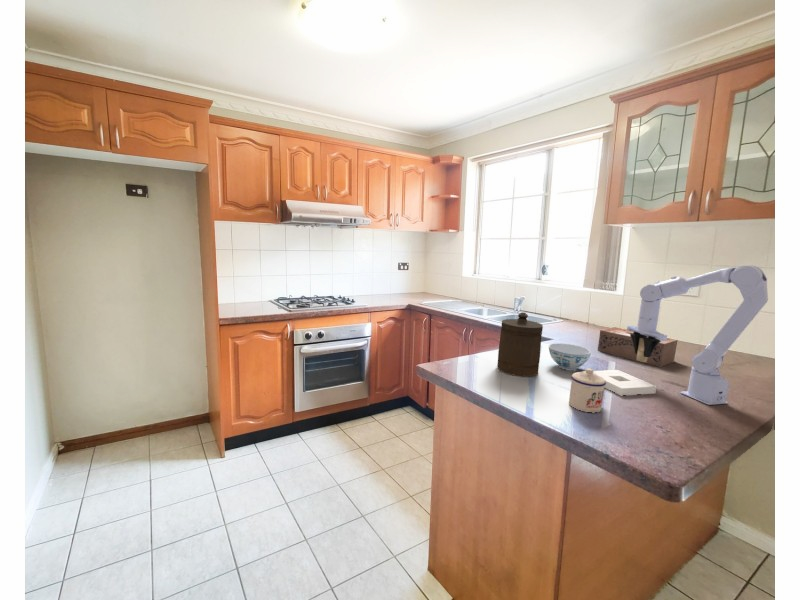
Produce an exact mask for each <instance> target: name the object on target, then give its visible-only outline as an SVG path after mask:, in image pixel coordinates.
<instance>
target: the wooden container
mask: <svg viewBox="0 0 800 600" xmlns="http://www.w3.org/2000/svg"><path fill="white" fill-rule="evenodd" d="M517 316H518V317H517V318H508V319H502V320H501V327H500V337H499V343H498V350H497V351H498V353H497V369H498V370H499V371H501V372H502V373H505V374H508V375H511V376H516V377H526V376H527V377H535V376H537V375H538V374H539V368H540V358H541V347H542V336H543V335H542V334H543V328H544V326H543V324H542V323H539V322H537V321H533V320H528V318H529V315H528V314H527V313H526V312H520V313H518V315H517Z"/></svg>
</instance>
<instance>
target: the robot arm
mask: <svg viewBox="0 0 800 600" xmlns="http://www.w3.org/2000/svg"><path fill="white" fill-rule="evenodd" d="M718 282H720V283H725V284H733V285H734V286H735V287H736V288H737V289H738V290H739V291H740V294H741V296H742V299H743V301H742V302H741V303H740V304H739V306H738V307H737V308H736V310H734V312H733V313H732V314H731V315H730V317H729V318H728V320H727V321H726V322H725V323H724V325H723V326H722V327H721V328H720V330H718V332H717V334H716V335H715V336H714V337H713V338H712V340H711V342H709V344H707V346H706V347H704V348H703V350H702V351H700V352H698V353H697V354H695V355H694V356H692V359H691V365H692V366H691V368H690V369H691V370H690V376H689V381H688V387H687V390H686V391H685V390H684V391H683V390H682V391H680V394H682V395H684V396H687V397H689V398H692V399H694V400H696V401H699V402H701V403H704V404H707V405H710V406H711V405H712V406H713V405H724V404H728V403H729V402H728V401H727V398H728V393H729V389H730V382H729V380H728V379H727V378H726V377H723V376H722V375H721V371H720V369H719V368H720V367H721V366H722V365H723V363H724V357H725V355H727V353H728V351H729V349H730V348H731V347H732V346H733V344H734V343H735V342H736V340H738V338H739V337H740V336H741V335H742V333H744V331H745V329H746V328H747V327H748V326H749V325H750V324H751V322H753V320H754V319H755V318H756V316H757V315H758V314H759V313H760V312H761V310H762V309H763V308H764V307H765V306H766V304H767V303H768V300H769V295H768V294H769V293H768V278H767V276H766V274H765V273H764V271H763V270H762V269H761V268H760V267H759V266H756V265H741V266H738V267H730V268H729V267H728V268H722V269H718V270H715V271H711V272H707V273H703V274H700V275H698V276H693V277H690V278H684V277H682V276H672V277H670V279H668V280H664V281H658V280H657V281H655V284H647V285H645V286H643V287H642V288H641V289H640V291H639V295H640V298H641V299H640V300H641V301H640V306H639V311H638V312H639V314H638V320H637V326H634V325H626V326H627V327H626V329H627V331H631V332H634V333H633V334H630V336H631V338H632V340H633V344H634V349H635V354H637V352H638V346H639V340H640V338H643V340H644V357H650V356H651V354H652V352H653V350H654V348H655V347H656V345H657V344H658V343H659V342H660V341H666V339H667V338H668V335H666V334H663V333H661V332H659V331H658V330H657V328H658V327H657V326H658V321H659V314H660V308H661V307H660V306H661V300H662V299H667V298H672V297H676V296H681V295H684V294H687V293H688V292H689V290H690V289H691V288H697V287H700V286H701V287H702V286H705V285H709V284H714V283H718ZM647 336H648V337H647Z"/></svg>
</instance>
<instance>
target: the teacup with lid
mask: <svg viewBox="0 0 800 600" xmlns="http://www.w3.org/2000/svg"><path fill="white" fill-rule="evenodd" d="M593 371H594V369H592V368H589V367H588V368H585V370H583V371H577V372H574V373H573V374H571V376H570V377H571V383H570V390H569V397H568V404H569V406H570V405H571V406H572V407H571V406H570V407H571V408H573V407H574V408H573V409H575V408H576V409H575V410H577V409H578V410H577V411H579V410H581V411H580V412H582V411H585V412H584V413H587V412H592V413H591V414H596V413H595V412H597V413H600V412H601V411H602V406H603V398H604V393H605V392H604V391H605V388H604V386H605V384H606V382H605V380H604V379H603V378H602V377H600V376H598V375H597V374H595V373H593Z"/></svg>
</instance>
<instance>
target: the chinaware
mask: <svg viewBox="0 0 800 600" xmlns="http://www.w3.org/2000/svg"><path fill="white" fill-rule="evenodd" d="M548 350H549V355H550V357H551V359H552V360H553V361H554V362H555V363H556V365H557V367H558V368H559V367H560V368H559V369H561V368H562V369H561V370H564V369H566V371H571V370H572V371H576V370H577V369H578V368H580V367H581V366H583V365H585V364H586V362H588V360H589V358H590V357H591V354H592V352H591V350H590V349H588V348H586V347H582V346H580V345H575V344H570V343H558V342H557V343H556V342H555V343H551V344H549V345H548Z"/></svg>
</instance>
